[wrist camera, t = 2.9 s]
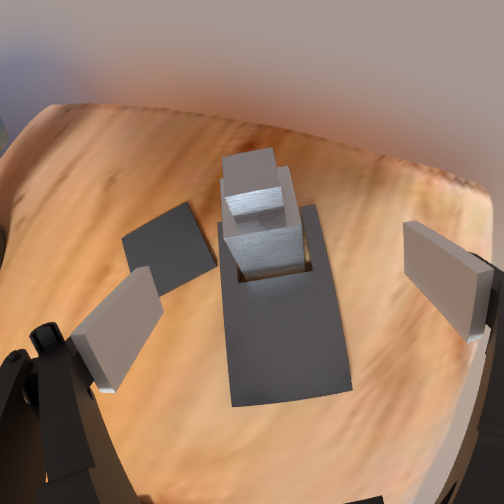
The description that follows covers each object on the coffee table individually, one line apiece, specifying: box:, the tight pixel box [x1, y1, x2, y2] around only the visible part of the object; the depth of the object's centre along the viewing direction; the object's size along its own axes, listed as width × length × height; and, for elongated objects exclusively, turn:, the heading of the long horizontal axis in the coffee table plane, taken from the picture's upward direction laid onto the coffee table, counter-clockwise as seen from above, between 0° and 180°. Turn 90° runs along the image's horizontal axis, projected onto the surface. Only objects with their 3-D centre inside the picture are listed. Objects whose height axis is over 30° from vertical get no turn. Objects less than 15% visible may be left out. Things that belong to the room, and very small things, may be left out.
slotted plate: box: [217, 205, 353, 407], centre depth 25 cm, size 16×9×1 cm, turn 6°
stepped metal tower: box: [220, 147, 305, 282], centre depth 23 cm, size 5×5×11 cm
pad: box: [122, 202, 217, 297], centre depth 29 cm, size 8×8×1 cm
